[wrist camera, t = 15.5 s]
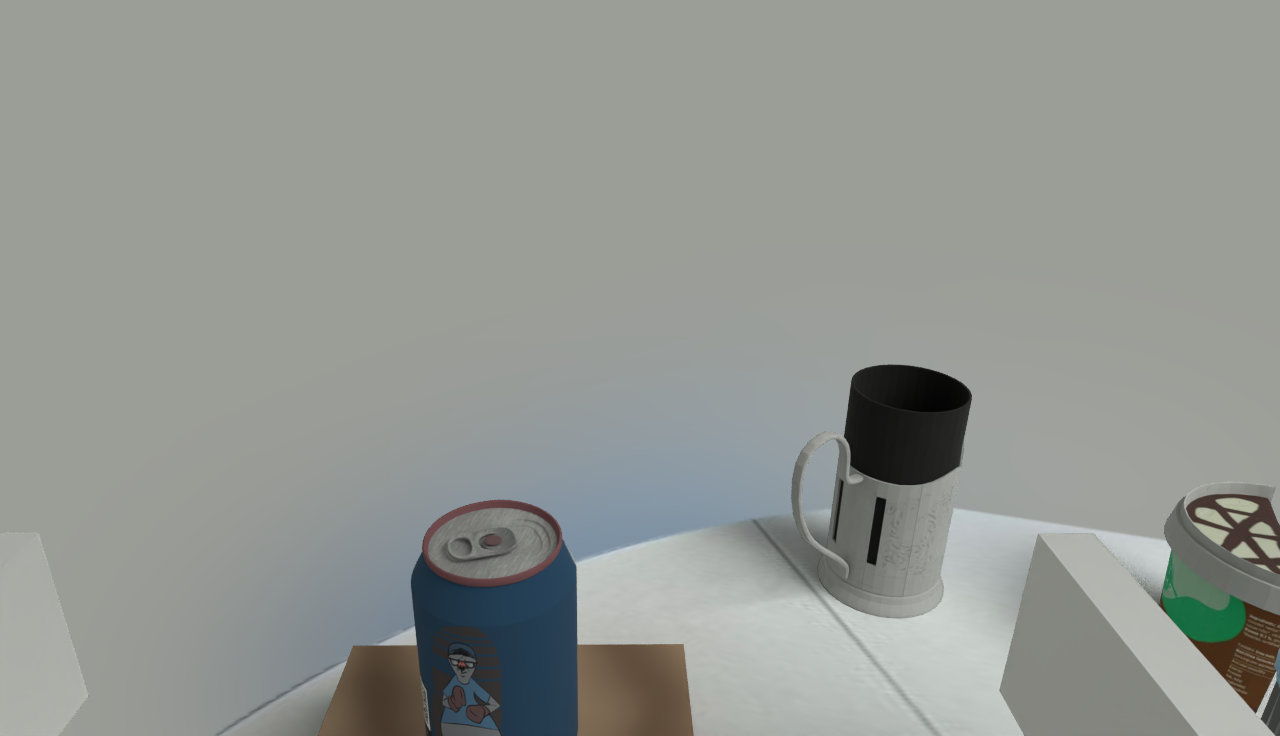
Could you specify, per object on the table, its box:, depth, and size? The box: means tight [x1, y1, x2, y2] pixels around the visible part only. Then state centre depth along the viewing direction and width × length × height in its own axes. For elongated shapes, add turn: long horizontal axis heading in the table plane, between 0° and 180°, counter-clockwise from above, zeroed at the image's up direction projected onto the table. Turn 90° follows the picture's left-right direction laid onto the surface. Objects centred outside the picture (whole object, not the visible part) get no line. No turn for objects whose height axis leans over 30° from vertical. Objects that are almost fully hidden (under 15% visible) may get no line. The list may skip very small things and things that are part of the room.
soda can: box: [411, 500, 578, 736], centre depth 38 cm, size 7×7×12 cm
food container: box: [1159, 482, 1280, 714], centre depth 53 cm, size 12×6×10 cm, turn 155°
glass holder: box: [791, 365, 972, 618], centre depth 57 cm, size 9×14×15 cm, turn 125°
